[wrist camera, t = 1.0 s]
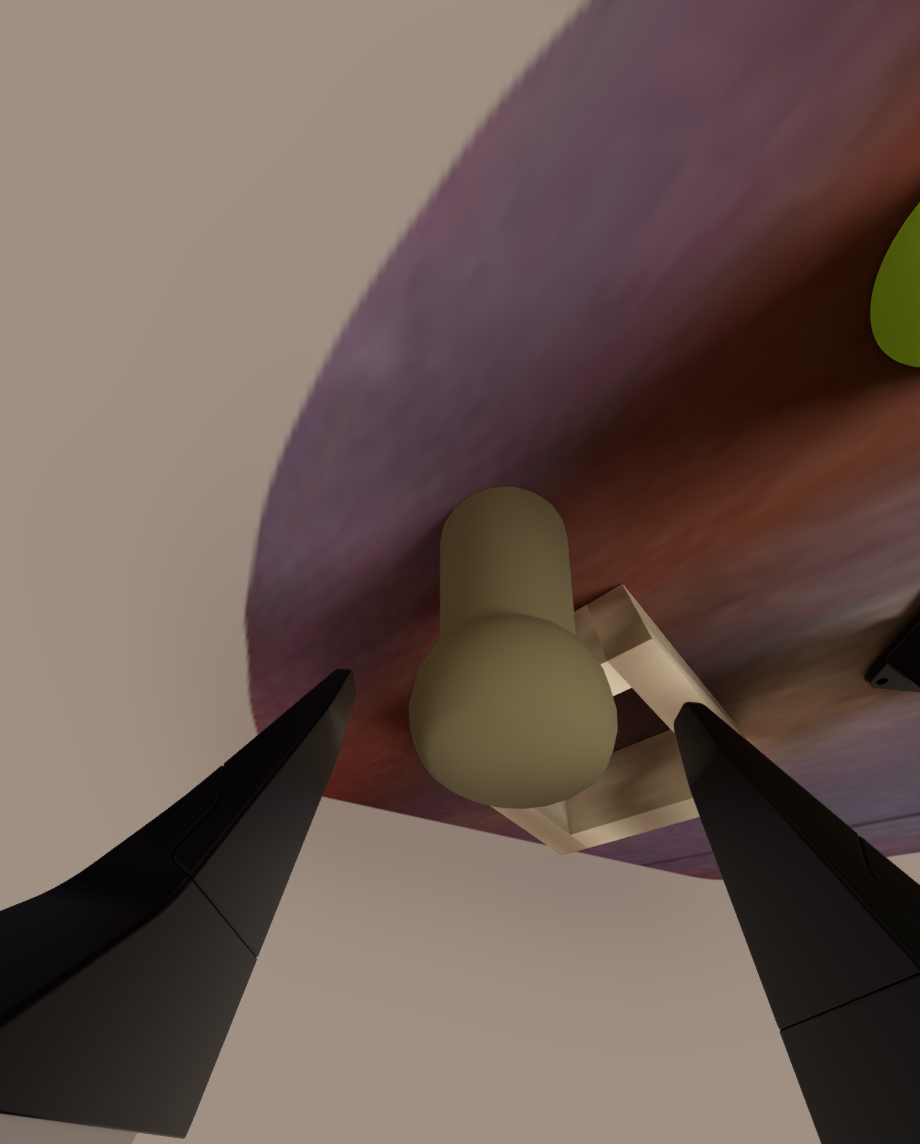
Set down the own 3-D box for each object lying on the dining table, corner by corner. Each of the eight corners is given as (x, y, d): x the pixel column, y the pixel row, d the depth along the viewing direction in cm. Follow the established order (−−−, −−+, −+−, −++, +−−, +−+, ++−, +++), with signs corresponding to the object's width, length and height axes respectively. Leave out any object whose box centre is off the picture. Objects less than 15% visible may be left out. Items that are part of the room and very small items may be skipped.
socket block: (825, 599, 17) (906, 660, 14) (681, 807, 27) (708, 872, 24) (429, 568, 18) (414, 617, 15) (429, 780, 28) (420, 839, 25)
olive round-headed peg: (529, 615, 19) (561, 863, 10) (422, 573, 19) (348, 800, 9) (593, 519, 16) (728, 745, 7) (469, 463, 15) (431, 635, 6)
